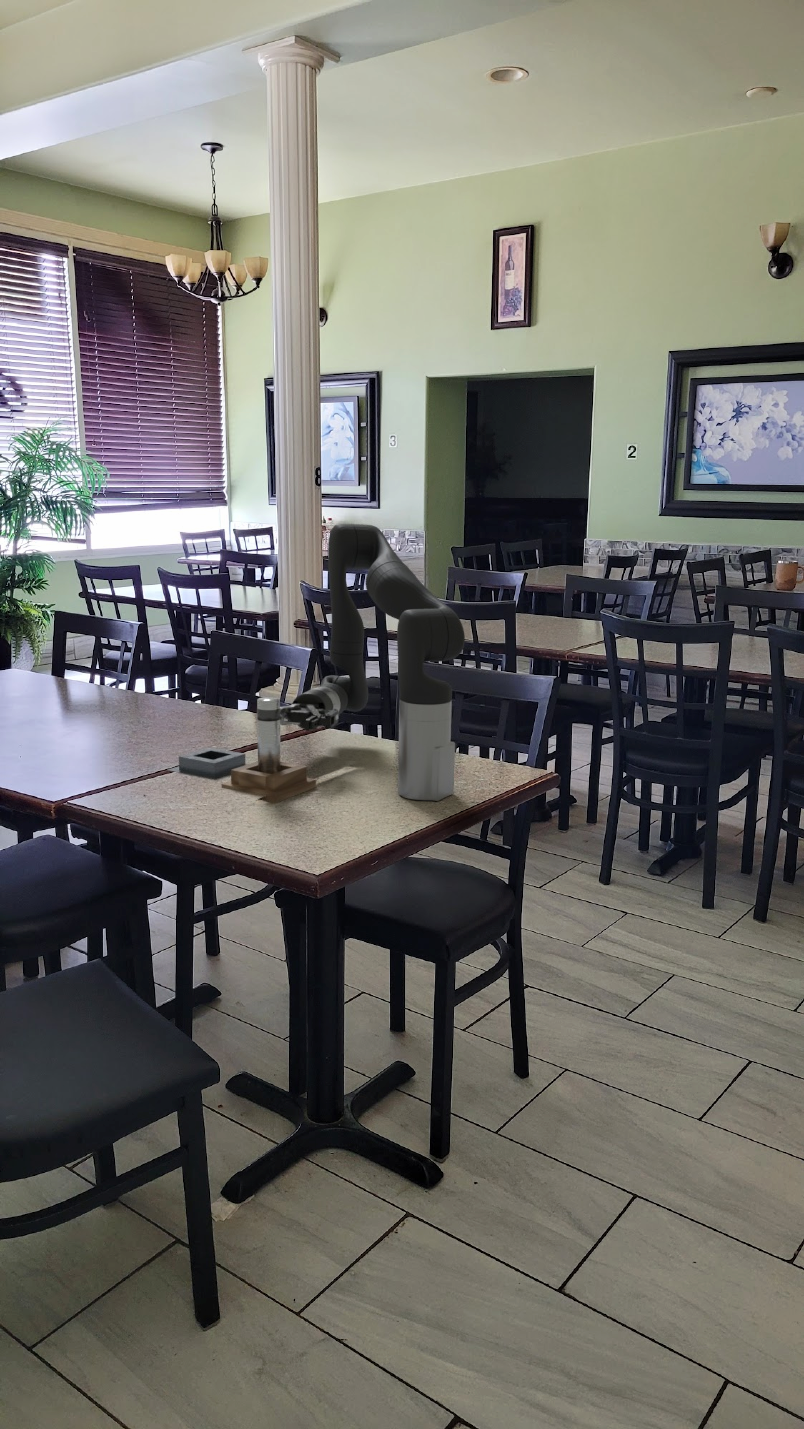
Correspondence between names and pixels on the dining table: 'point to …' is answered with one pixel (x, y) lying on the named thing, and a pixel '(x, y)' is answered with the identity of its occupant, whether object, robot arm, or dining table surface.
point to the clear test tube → (268, 735)
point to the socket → (210, 763)
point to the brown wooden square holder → (271, 781)
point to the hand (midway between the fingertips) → (285, 724)
